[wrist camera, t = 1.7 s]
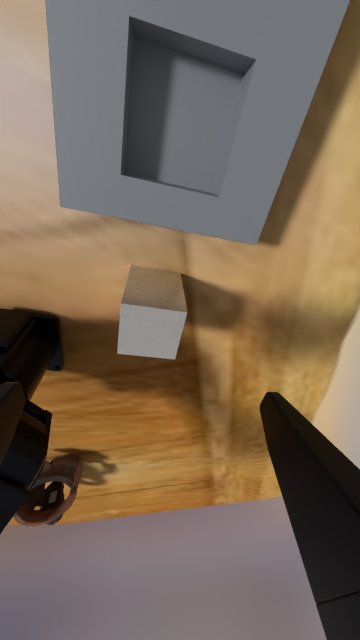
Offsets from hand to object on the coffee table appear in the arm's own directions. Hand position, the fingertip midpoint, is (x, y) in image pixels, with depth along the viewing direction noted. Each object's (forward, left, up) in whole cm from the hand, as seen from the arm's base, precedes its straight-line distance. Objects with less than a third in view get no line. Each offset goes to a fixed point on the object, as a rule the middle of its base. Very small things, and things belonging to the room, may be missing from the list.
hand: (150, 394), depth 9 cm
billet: (-2, 0, -12) cm, 12 cm away
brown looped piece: (-34, +11, -13) cm, 38 cm away
